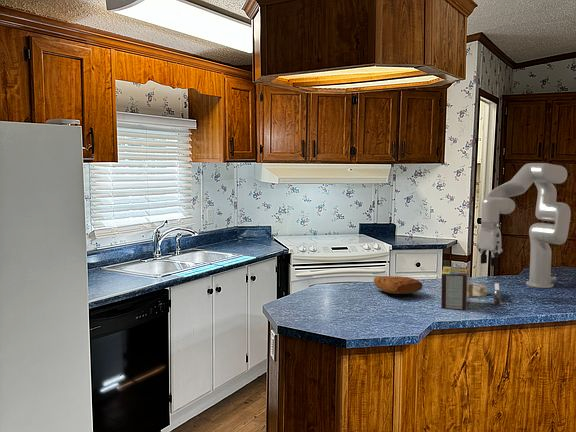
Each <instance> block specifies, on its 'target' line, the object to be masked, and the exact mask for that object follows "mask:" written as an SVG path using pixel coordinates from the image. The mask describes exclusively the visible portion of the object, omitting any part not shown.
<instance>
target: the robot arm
mask: <svg viewBox="0 0 576 432" xmlns="http://www.w3.org/2000/svg"><path fill="white" fill-rule="evenodd" d="M567 177H568V171H567V168H565V167H564V166H563V165H560V164H559V165H558V164H554V163H553V164H552V163H547V162H529V163H525V164H524V165H523V166H521V168H520V169H519V170H518V172H516V174H515V175H513V177H512V178H511V179H510V180H508V181H506V182H505V183H503V184H501V185H500V184H499V185H498V186H496V187H495V188H493V189H492V190H491V191H490V192H489V193H488V194H487V195H486V196H485V198H484V199H482V201H481V217H480V218H481V220H480V223H481V224H480V228H479V232H478V242H477V244H476V249H477V250H478V252H479V255H480V264H483V265H484V264H488V263H487V262H488V254H487V252H488V251H490V253H491V257H490V266H491V267H496V266H497V265H498V257H499V256H500V255H501V254H502V253H503V251H504V250H503V248H502V233H501V229H500V228H499V227H500V226H501V225H500V214H501V215H508V214H511V213H513V211H515V209H516V202H515V201H514V200H513V199H511V197H517V196H520V195H523V194H525V193H526V191H528V190H529V188H530V187H531V186H532V184H534V185H535V187H536V189H537V198H536V205H535V213H534V214H535V217H536V219H538V220H541V221H546V222H554V223H545V222H536V223H533V224H532V225H530V227H529V229H528V230H529V231H528V235H529V236H528V237H529V243H530V254H529V255H530V256H529V257H530V258H529V280H526V281H525V285H526V286H528V287H532V288H539V289H550V288H554V283H553V281H556V280H557V277H556V276H551V273H552V255H553V254H552V248H551V247H550V244H553V245H563V244H565V243H566V241H567V239H568V237H569V236H568V235H569V229H570V222H571V216H572V215H571V213H572V211H571V208H570V206H569V204H567V203H566V202H560V201H559V202H558V201H557V194H558V193H557V188H556V187H555V185H554V184H563V183H564V182H565V181H566V180H567Z"/></svg>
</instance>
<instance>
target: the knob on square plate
mask: <svg viewBox="0 0 576 432" xmlns="http://www.w3.org/2000/svg"><path fill="white" fill-rule="evenodd" d="M493 294H494V295H493V301H488V304H489V305H493V306H496V307H499V306H505V305H506V303H505V302H502V301H501V290H500V289H499V290H495V289H494V293H493Z"/></svg>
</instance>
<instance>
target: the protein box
mask: <svg viewBox="0 0 576 432" xmlns="http://www.w3.org/2000/svg"><path fill="white" fill-rule="evenodd" d="M467 283H468V267H459V266H458V267H457V266H443V268H442V272H441V301H440V303H441V305H440V306H441V307H440V309H444V310H445V309H446V310H459V311H467V300H468V299H467V298H468V297H467Z"/></svg>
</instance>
